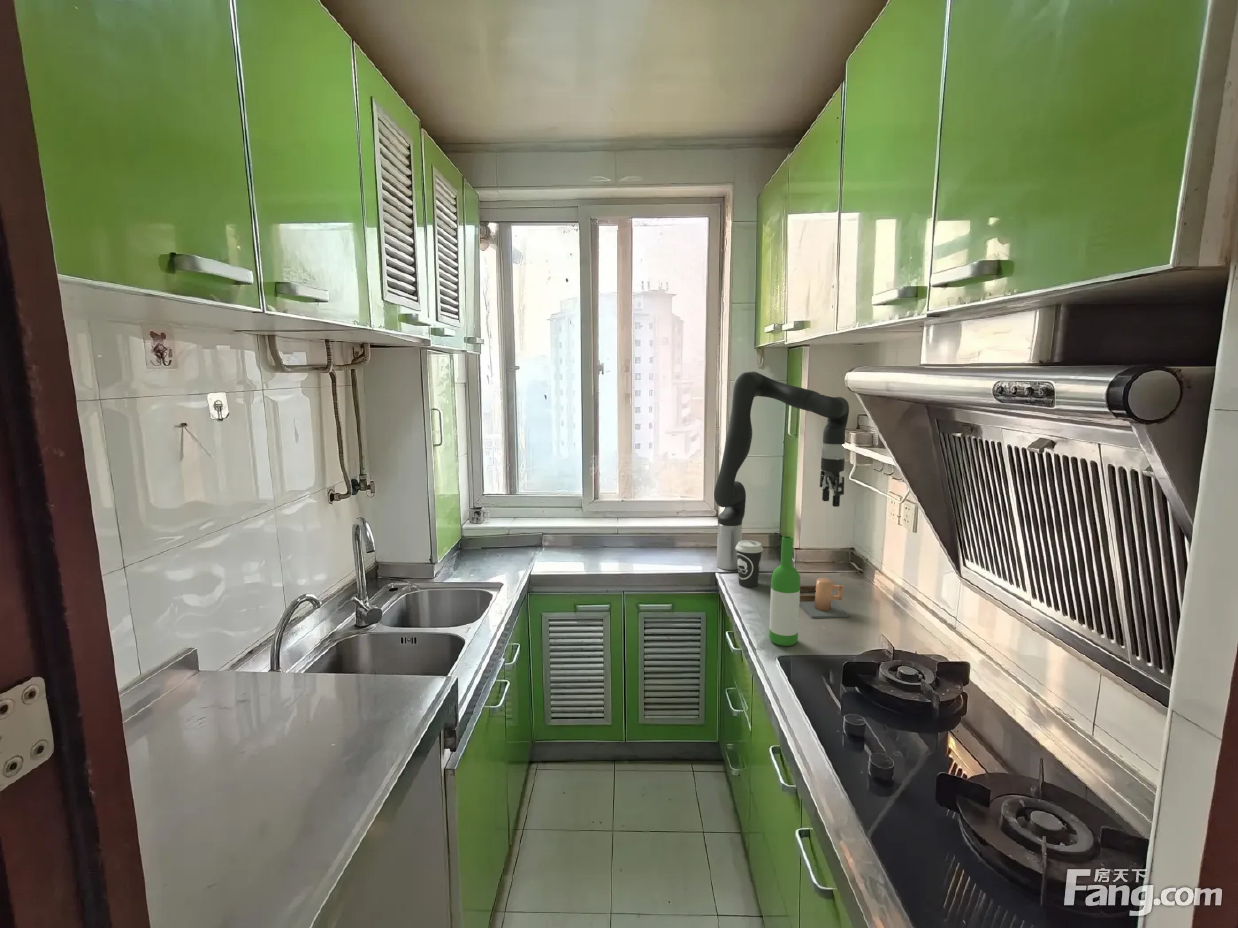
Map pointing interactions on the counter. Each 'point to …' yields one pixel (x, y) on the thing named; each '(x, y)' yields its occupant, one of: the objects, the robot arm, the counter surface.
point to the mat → (814, 613)
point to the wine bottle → (785, 598)
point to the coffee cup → (748, 562)
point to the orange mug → (826, 594)
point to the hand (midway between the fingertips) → (830, 503)
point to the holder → (807, 597)
